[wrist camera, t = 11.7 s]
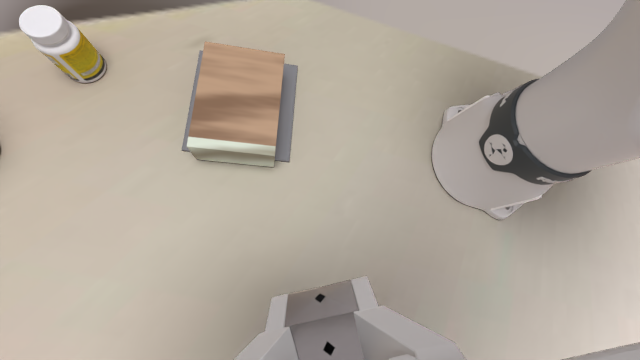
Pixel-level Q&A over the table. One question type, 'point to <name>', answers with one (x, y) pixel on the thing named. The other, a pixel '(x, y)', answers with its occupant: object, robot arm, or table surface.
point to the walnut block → (236, 105)
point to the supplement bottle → (62, 43)
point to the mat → (284, 113)
